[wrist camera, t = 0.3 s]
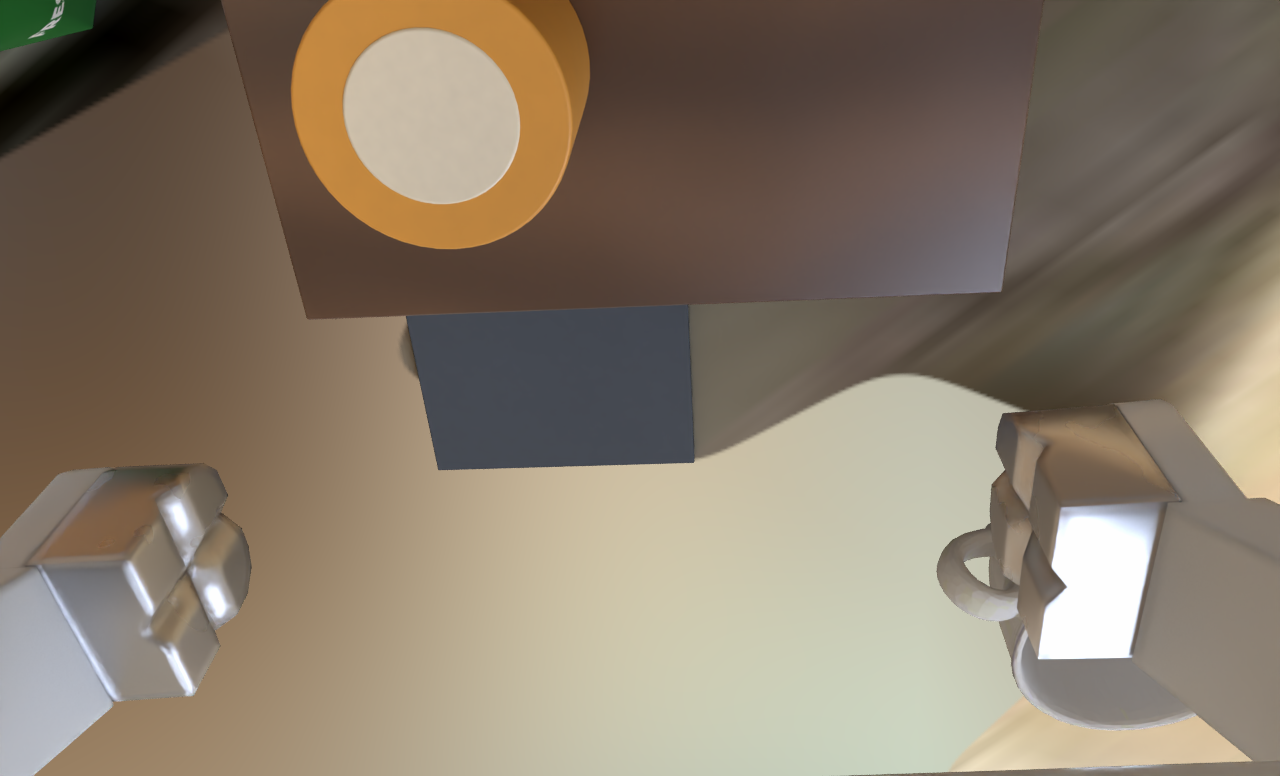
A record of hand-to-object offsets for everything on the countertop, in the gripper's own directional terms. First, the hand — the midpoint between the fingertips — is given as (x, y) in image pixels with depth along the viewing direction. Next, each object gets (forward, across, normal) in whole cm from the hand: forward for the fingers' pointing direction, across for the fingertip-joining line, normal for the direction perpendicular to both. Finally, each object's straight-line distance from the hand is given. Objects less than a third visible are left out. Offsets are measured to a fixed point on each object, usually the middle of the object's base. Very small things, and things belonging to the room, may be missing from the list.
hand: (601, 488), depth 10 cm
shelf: (+29, 0, 0) cm, 29 cm away
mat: (+29, +6, +14) cm, 33 cm away
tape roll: (+17, +4, -1) cm, 17 cm away
